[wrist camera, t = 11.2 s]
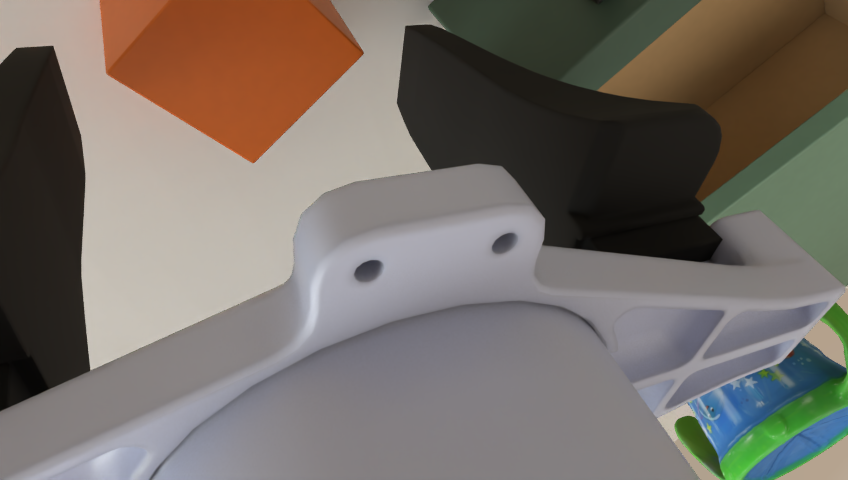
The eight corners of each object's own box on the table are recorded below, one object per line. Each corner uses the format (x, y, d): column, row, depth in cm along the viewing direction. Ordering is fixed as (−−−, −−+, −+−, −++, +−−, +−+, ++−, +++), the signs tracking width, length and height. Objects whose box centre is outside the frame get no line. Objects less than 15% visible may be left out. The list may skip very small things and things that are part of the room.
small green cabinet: (523, 144, 25) (635, 278, 20) (824, -117, 22) (1045, -32, 17) (631, 262, 35) (722, 371, 30) (847, 96, 31) (989, 188, 27)
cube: (227, 84, 18) (253, 164, 16) (97, -7, 15) (104, 74, 13) (320, -15, 17) (365, 53, 15) (202, -133, 14) (232, -72, 12)
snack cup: (721, 246, 38) (858, 383, 31) (816, 244, 43) (949, 360, 36) (596, 396, 47) (681, 525, 40) (686, 378, 52) (775, 490, 46)
